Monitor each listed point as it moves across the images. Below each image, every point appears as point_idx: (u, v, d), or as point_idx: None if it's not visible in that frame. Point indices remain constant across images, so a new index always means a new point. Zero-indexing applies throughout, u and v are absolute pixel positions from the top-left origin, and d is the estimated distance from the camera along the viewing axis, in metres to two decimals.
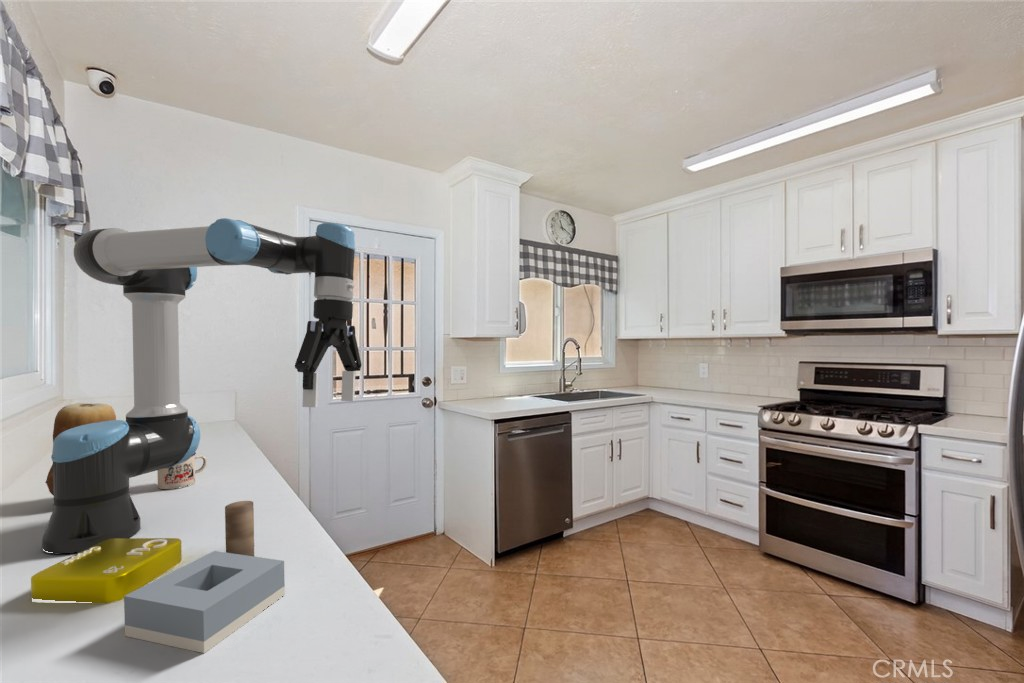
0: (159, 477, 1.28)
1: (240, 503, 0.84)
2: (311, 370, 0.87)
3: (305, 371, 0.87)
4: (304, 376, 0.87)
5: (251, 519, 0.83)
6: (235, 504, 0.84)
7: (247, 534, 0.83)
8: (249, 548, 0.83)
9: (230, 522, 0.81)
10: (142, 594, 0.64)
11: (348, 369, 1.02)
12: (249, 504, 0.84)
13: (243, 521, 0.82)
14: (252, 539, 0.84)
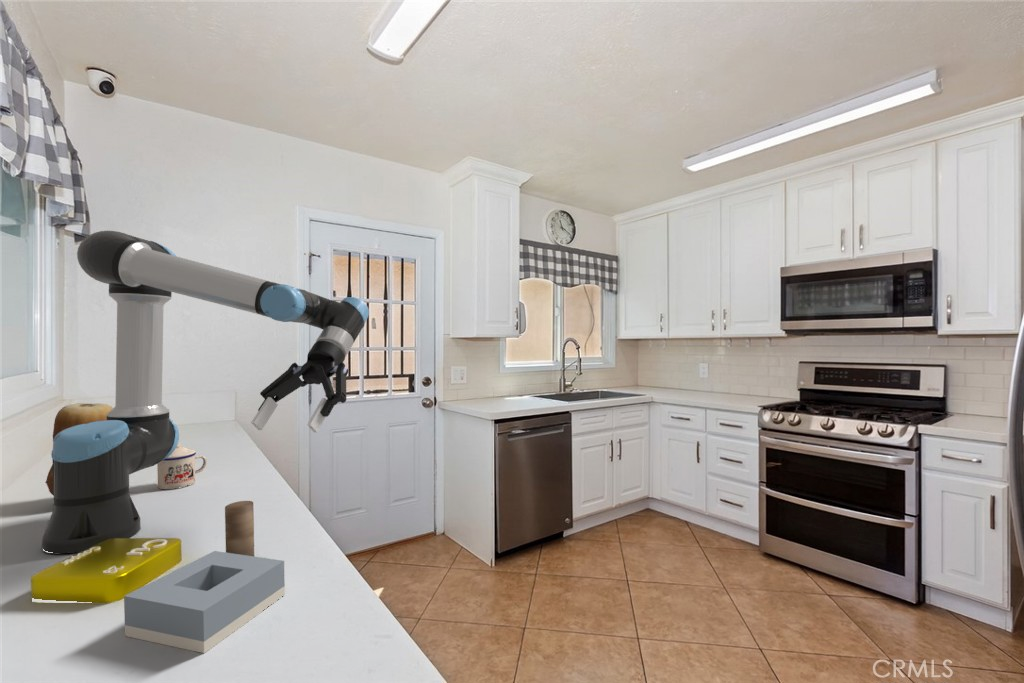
0: (159, 477, 1.28)
1: (240, 503, 0.84)
2: (336, 403, 0.97)
3: (335, 401, 0.96)
4: (330, 403, 0.95)
5: (251, 519, 0.83)
6: (235, 504, 0.84)
7: (247, 534, 0.83)
8: (249, 548, 0.83)
9: (230, 522, 0.81)
10: (142, 594, 0.64)
11: (271, 398, 1.00)
12: (249, 504, 0.84)
13: (243, 521, 0.82)
14: (252, 539, 0.84)
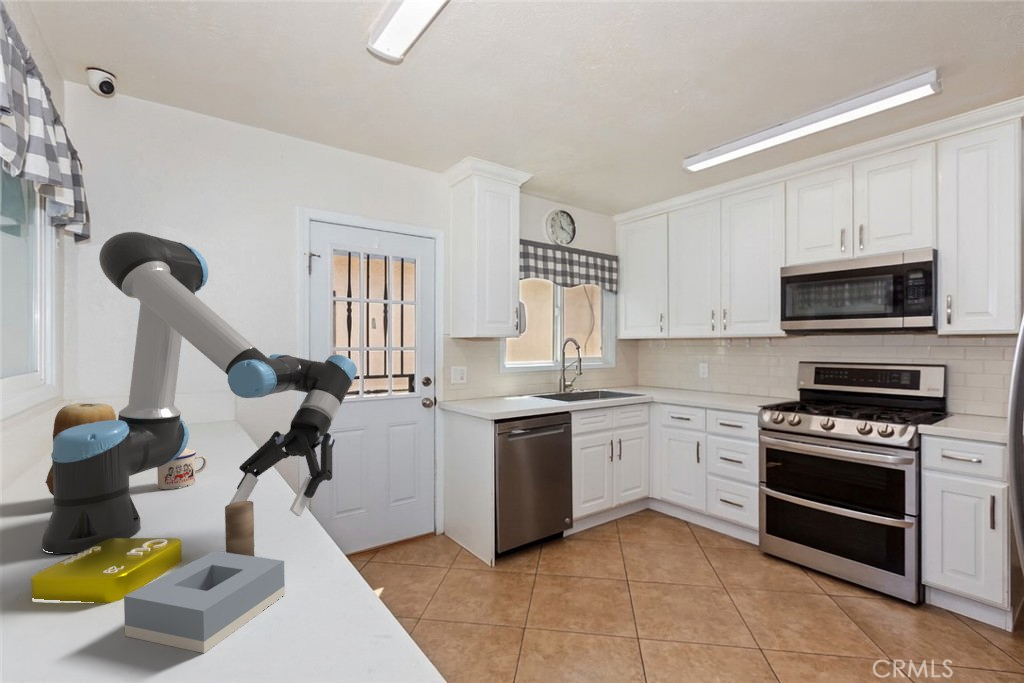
0: (159, 477, 1.28)
1: (240, 503, 0.84)
2: None
3: (320, 479, 0.89)
4: (315, 483, 0.89)
5: (251, 519, 0.83)
6: (235, 504, 0.84)
7: (247, 534, 0.83)
8: (249, 548, 0.83)
9: (230, 522, 0.81)
10: (142, 594, 0.64)
11: (251, 474, 0.93)
12: (249, 504, 0.84)
13: (243, 522, 0.82)
14: (252, 539, 0.84)
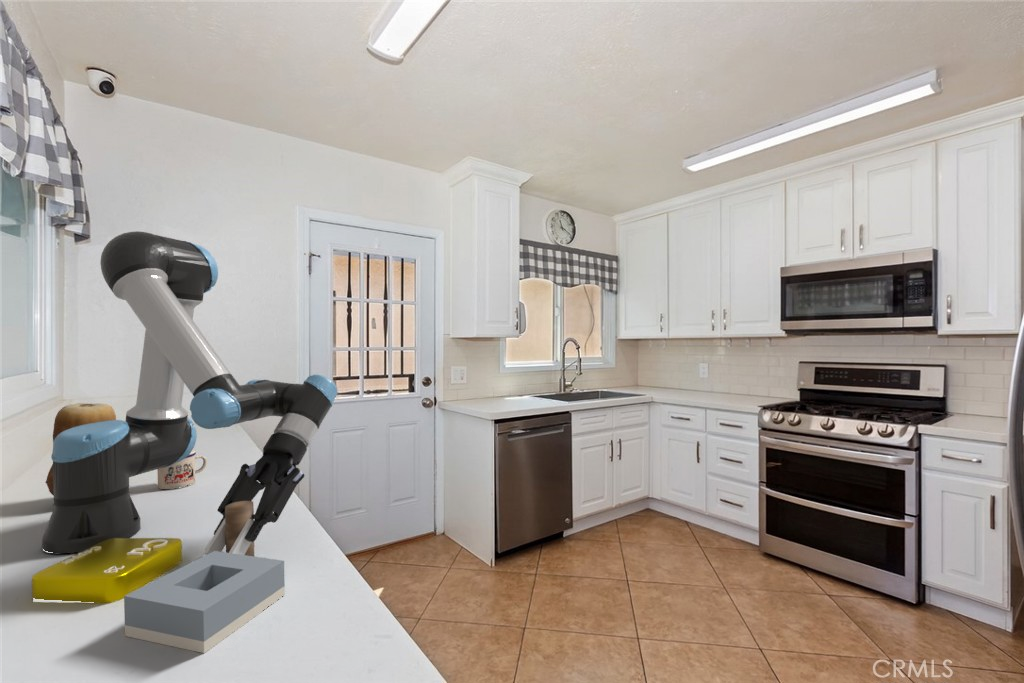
0: (159, 477, 1.28)
1: (240, 503, 0.84)
2: None
3: (263, 521, 0.83)
4: (258, 525, 0.82)
5: None
6: (235, 504, 0.84)
7: None
8: (249, 548, 0.83)
9: (230, 522, 0.81)
10: (142, 594, 0.64)
11: None
12: (249, 504, 0.84)
13: (243, 521, 0.82)
14: None
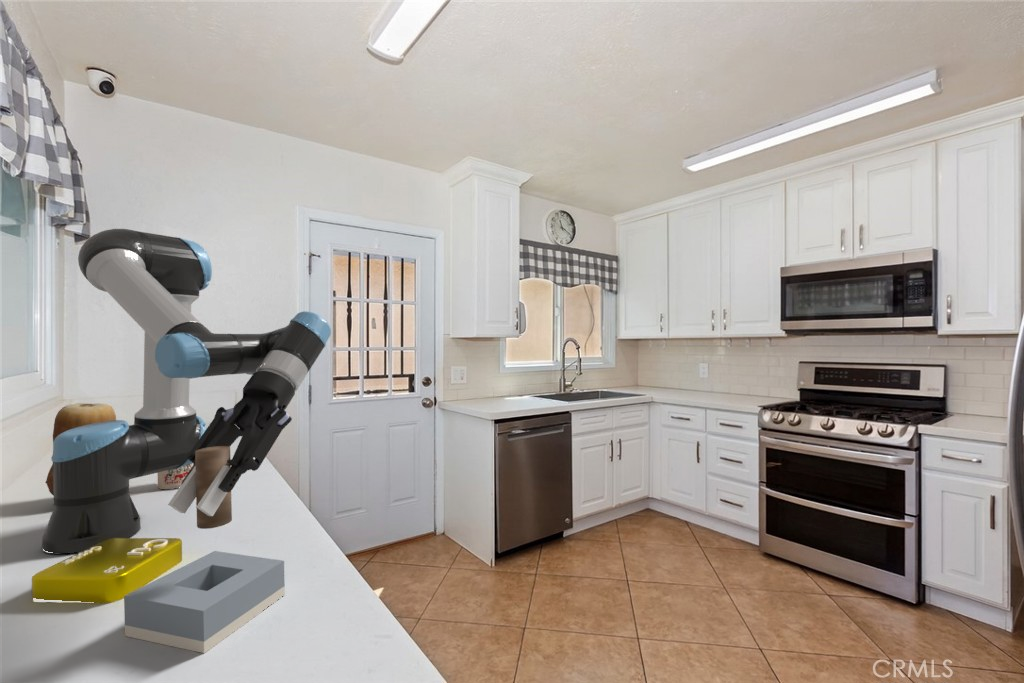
0: (159, 477, 1.28)
1: (214, 448, 0.70)
2: None
3: (242, 469, 0.69)
4: (235, 473, 0.69)
5: None
6: (208, 448, 0.70)
7: None
8: (225, 501, 0.69)
9: (201, 468, 0.67)
10: (142, 594, 0.64)
11: None
12: (225, 448, 0.70)
13: (218, 468, 0.68)
14: None
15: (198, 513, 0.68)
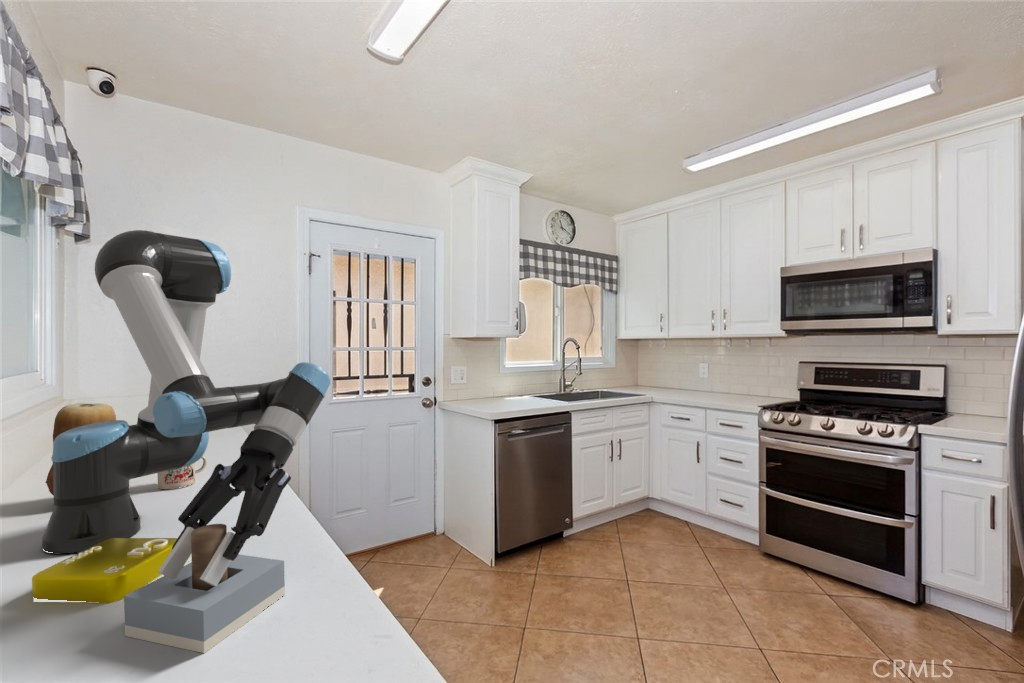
0: (159, 477, 1.28)
1: (210, 527, 0.70)
2: (248, 537, 0.69)
3: (246, 535, 0.68)
4: (239, 540, 0.68)
5: None
6: (204, 528, 0.69)
7: None
8: (221, 582, 0.68)
9: (197, 551, 0.67)
10: (142, 594, 0.64)
11: (194, 527, 0.71)
12: (221, 528, 0.69)
13: (213, 550, 0.67)
14: (225, 571, 0.69)
15: None
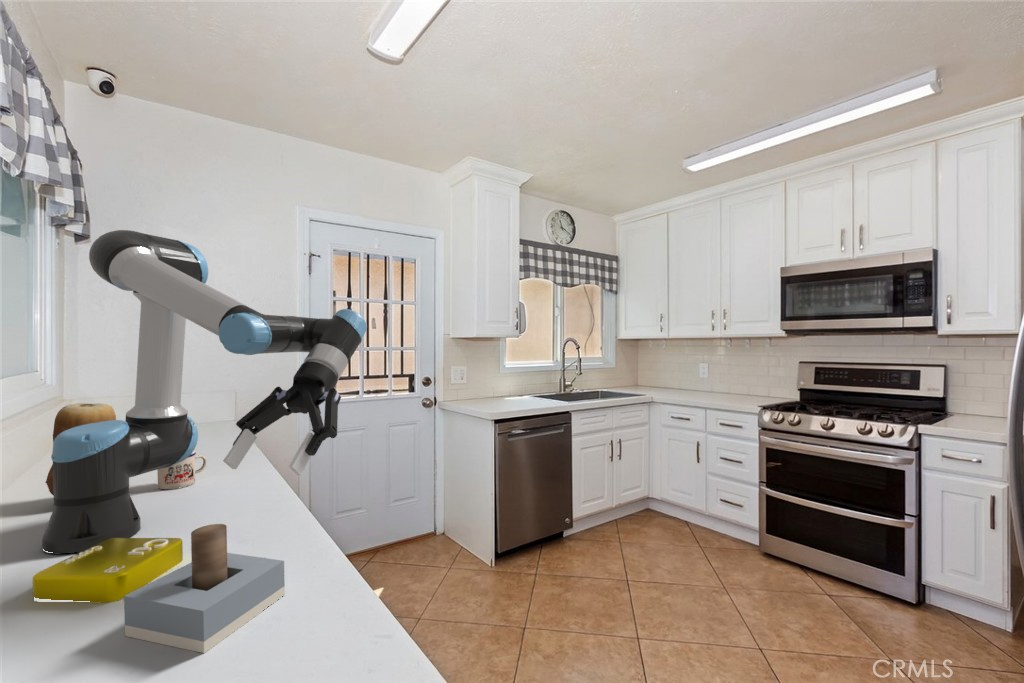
0: (159, 477, 1.28)
1: (210, 527, 0.70)
2: (324, 438, 0.81)
3: (323, 436, 0.80)
4: (318, 439, 0.80)
5: (223, 547, 0.69)
6: (204, 528, 0.69)
7: (218, 566, 0.68)
8: None
9: (197, 551, 0.67)
10: (142, 594, 0.64)
11: (249, 430, 0.85)
12: (221, 529, 0.69)
13: (213, 551, 0.67)
14: (225, 571, 0.69)
15: None
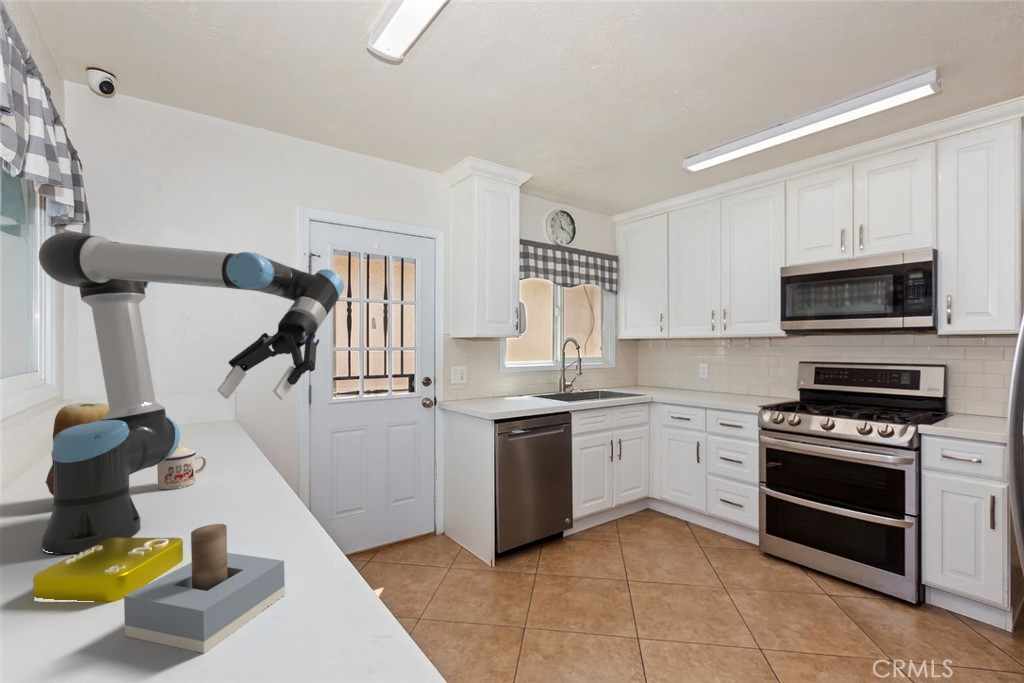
0: (159, 477, 1.28)
1: (210, 527, 0.70)
2: (304, 371, 0.95)
3: (303, 369, 0.94)
4: (298, 371, 0.94)
5: (223, 547, 0.69)
6: (204, 528, 0.69)
7: (218, 566, 0.68)
8: None
9: (197, 551, 0.67)
10: (142, 594, 0.64)
11: (240, 367, 0.99)
12: (221, 529, 0.69)
13: (213, 551, 0.67)
14: (225, 571, 0.69)
15: None
